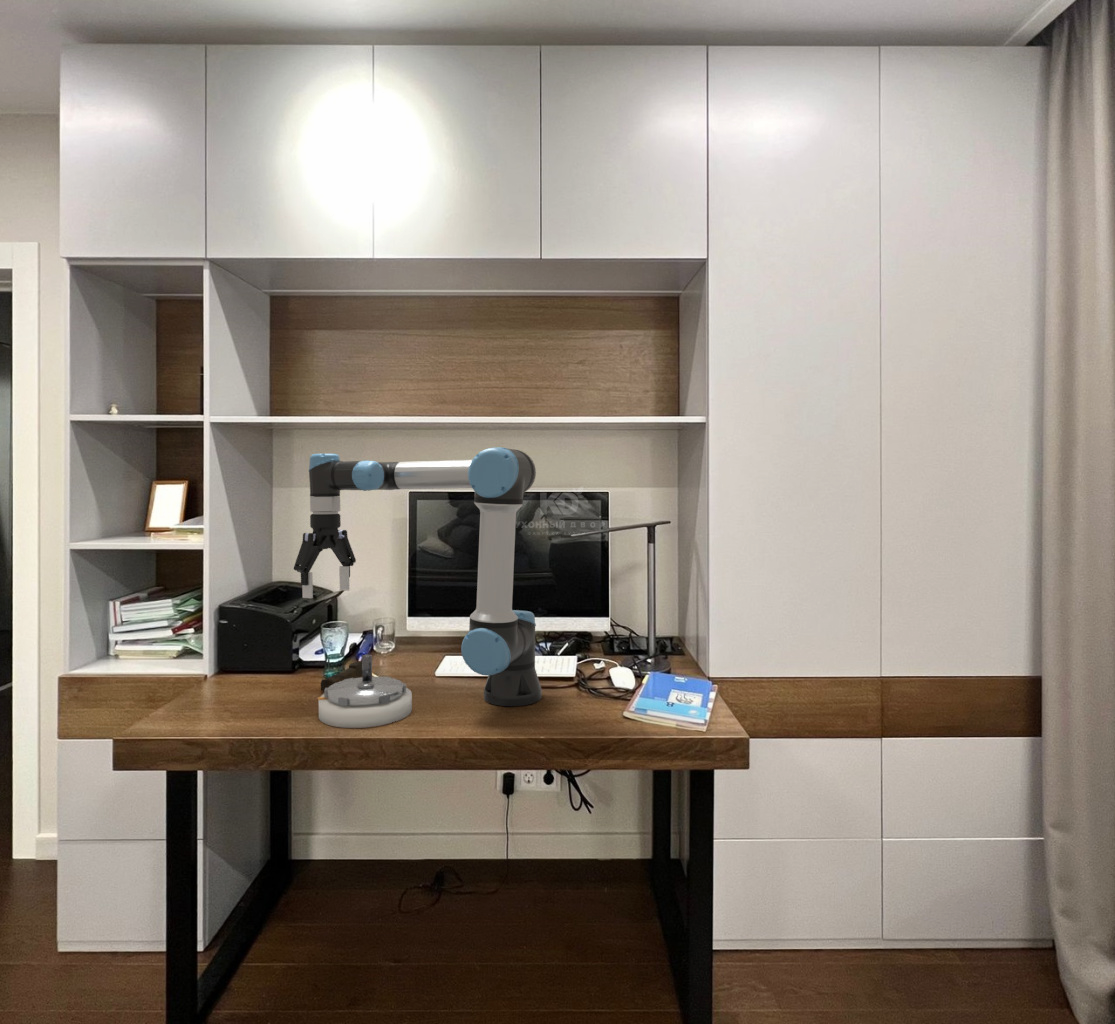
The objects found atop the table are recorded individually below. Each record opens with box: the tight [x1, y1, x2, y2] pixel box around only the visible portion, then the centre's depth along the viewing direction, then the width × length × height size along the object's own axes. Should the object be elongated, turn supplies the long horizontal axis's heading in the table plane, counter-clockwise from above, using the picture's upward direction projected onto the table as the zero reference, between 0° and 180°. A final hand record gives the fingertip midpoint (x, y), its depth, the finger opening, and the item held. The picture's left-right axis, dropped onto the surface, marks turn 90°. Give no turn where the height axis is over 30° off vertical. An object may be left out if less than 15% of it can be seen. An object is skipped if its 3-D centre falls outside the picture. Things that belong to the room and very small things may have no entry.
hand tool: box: [320, 660, 362, 693], centre depth 198 cm, size 19×4×5 cm, turn 163°
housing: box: [317, 687, 413, 729], centre depth 173 cm, size 22×22×4 cm
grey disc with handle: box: [323, 654, 407, 707], centre depth 173 cm, size 18×19×8 cm
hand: (326, 594), depth 185 cm, fingers open, 13 cm apart
